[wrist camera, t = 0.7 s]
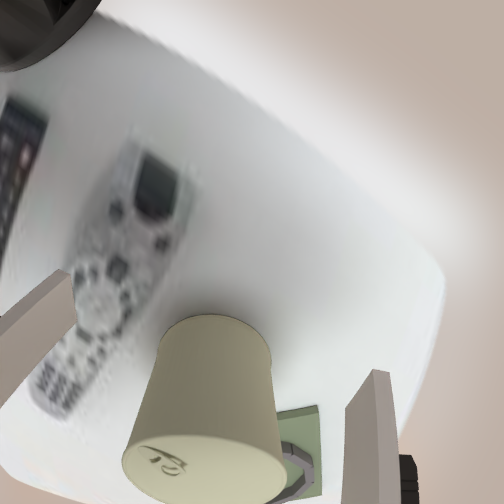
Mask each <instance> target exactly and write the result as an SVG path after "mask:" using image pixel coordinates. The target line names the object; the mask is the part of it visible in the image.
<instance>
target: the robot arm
mask: <svg viewBox="0 0 504 504" xmlns="http://www.w3.org/2000/svg"><path fill="white" fill-rule="evenodd" d="M100 2H101V0H0V71H2V72H9V71H15V70H19V69H22V68H25V67H27V66H30V65H32V64H34V63H36V62H38V61H39V60H41V59H43V58H44V57H46V56H47V55H49V54H50V53H52V52H53V51H54V50H56V49H57V48H58V47H60V46H61V45H62V44H63V43H64V42H65V41H67V40H68V39H69V38H70V37H71V36H72V35H73V34H74V33H75V32H76V31H77V30H78V29H79V28H80V27H81V26H82V25H83V24H84V23H85V21H86V20H87V19H88V18H89V17H90V16H91V14H92V13H93V12H94V10H95V9H96V8H97V6H98V5H99V4H100ZM76 322H77V316H76V310H75V304H74V297H73V291H72V283H71V276H70V274H68V273H66V272H64V271H61V270H59V269H58V270H57V271H55V272H54V273H53V274H51V275H50V276H49V277H48V278H46V279H45V280H44V281H43V282H42V283H40V284H39V285H38V286H37V287H35V288H34V289H33V290H32V291H31V292H29V293H28V294H27V295H26V296H25V297H23V298H22V299H21V300H20V301H19V302H18V303H16V304H15V305H14V306H13V307H12V308H11V309H10V310H8V311H7V312H6V313H5V314H4V315H3V316H2V317H1V316H0V408H1V407H2V406H3V405H4V403H5V402H6V401H7V400H8V398H9V397H10V396H11V395H12V394H13V392H14V391H15V390H16V389H17V388H18V386H19V385H20V384H21V383H22V382H23V381H24V379H25V378H26V377H27V376H28V375H29V374H30V372H31V371H32V370H33V369H34V368H35V367H36V366H37V364H38V363H39V362H40V361H41V360H42V359H43V358H44V357H45V355H46V354H47V353H48V352H49V351H50V350H51V349H52V348H53V347H54V345H55V344H56V343H57V342H58V341H59V340H60V339H61V338H62V337H63V336H64V335H65V334H66V332H67V331H68V330H69V329H70V328H71V327H72V326H73V325H74V324H75V323H76ZM417 480H418V474H417V466H416V464H415V462H414V460H413V458H412V456H411V455H400V454H399V452H398V440H397V429H396V419H395V410H394V402H393V394H392V387H391V380H390V373H389V372H385V371H380V370H375V369H372V371H371V372H370V374H369V375H368V377H367V378H366V380H365V381H364V383H363V384H362V386H361V387H360V389H359V390H358V391H357V393H356V394H355V396H354V397H353V398H352V400H351V401H350V403H349V404H348V405H347V407H346V408H345V444H344V466H343V483H342V496H341V504H419V492H418V490H419V487H418V482H417Z"/></svg>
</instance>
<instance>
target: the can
mask: <svg viewBox="0 0 504 504" xmlns="http://www.w3.org/2000/svg"><path fill="white" fill-rule="evenodd" d="M122 468H123V471H124V473H125V475H126V476H127V478H128V479H129V480H130V481H131V483H132V484H133V485H135V486H136V487H137V488H138V489H139V490H141V491H142V492H143V493H145V494H147V495H148V496H150V497H152V498H154V499H156V500H158V501H160V502H163V503H165V504H264V503H266V502H268V501H270V500H272V499H273V498H275V497H276V496H277V495H278V494H279V493H280V492H281V491H282V490H283V489H284V487H285V485H286V482H287V471H286V468H285V464H284V460H283V453H282V447H281V441H280V435H279V428H278V422H277V415H276V408H275V401H274V393H273V386H272V377H271V355H270V351H269V348H268V346H267V344H266V342H265V341H264V339H263V338H262V337H261V336H260V334H259V333H257V332H256V331H255V330H254V329H253V328H252V327H250V326H249V325H247V324H245V323H244V322H241V321H239V320H237V319H234V318H231V317H227V316H222V315H199V316H193V317H190V318H187V319H184V320H182V321H180V322H178V323H177V324H175V325H174V326H172V327H171V328H170V329H169V330H168V331H167V332H166V333H165V335H164V336H163V338H162V339H161V341H160V344H159V347H158V352H157V358H156V362H155V365H154V368H153V371H152V374H151V377H150V380H149V382H148V385H147V388H146V391H145V394H144V397H143V400H142V403H141V406H140V409H139V412H138V415H137V418H136V421H135V424H134V427H133V430H132V433H131V436H130V439H129V442H128V445H127V447H126V449H125V451H124V453H123V456H122Z"/></svg>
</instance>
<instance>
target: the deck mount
mask: <svg viewBox="0 0 504 504" xmlns="http://www.w3.org/2000/svg"><path fill="white" fill-rule="evenodd" d="M276 415H277V422H278V428H279V435H280V441H281V447H282V453H283V460H284V464H285V468H286V471H287V482H286V485H285V487H284V489H283V490H282V491H281V492H280V493H279V494H278V495H277V496H276V497H275V498H273V499H272V500H270V501H268V502H266V503H264V504H282V503H285V502H288V501H293V500H299V499H305V498H310V497H315V496H320V495H322V476H321V445H320V423H319V411H318V408H317V406H312V407H307V408H302V409H296V410H291V411H285V412H279V413H276Z"/></svg>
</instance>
